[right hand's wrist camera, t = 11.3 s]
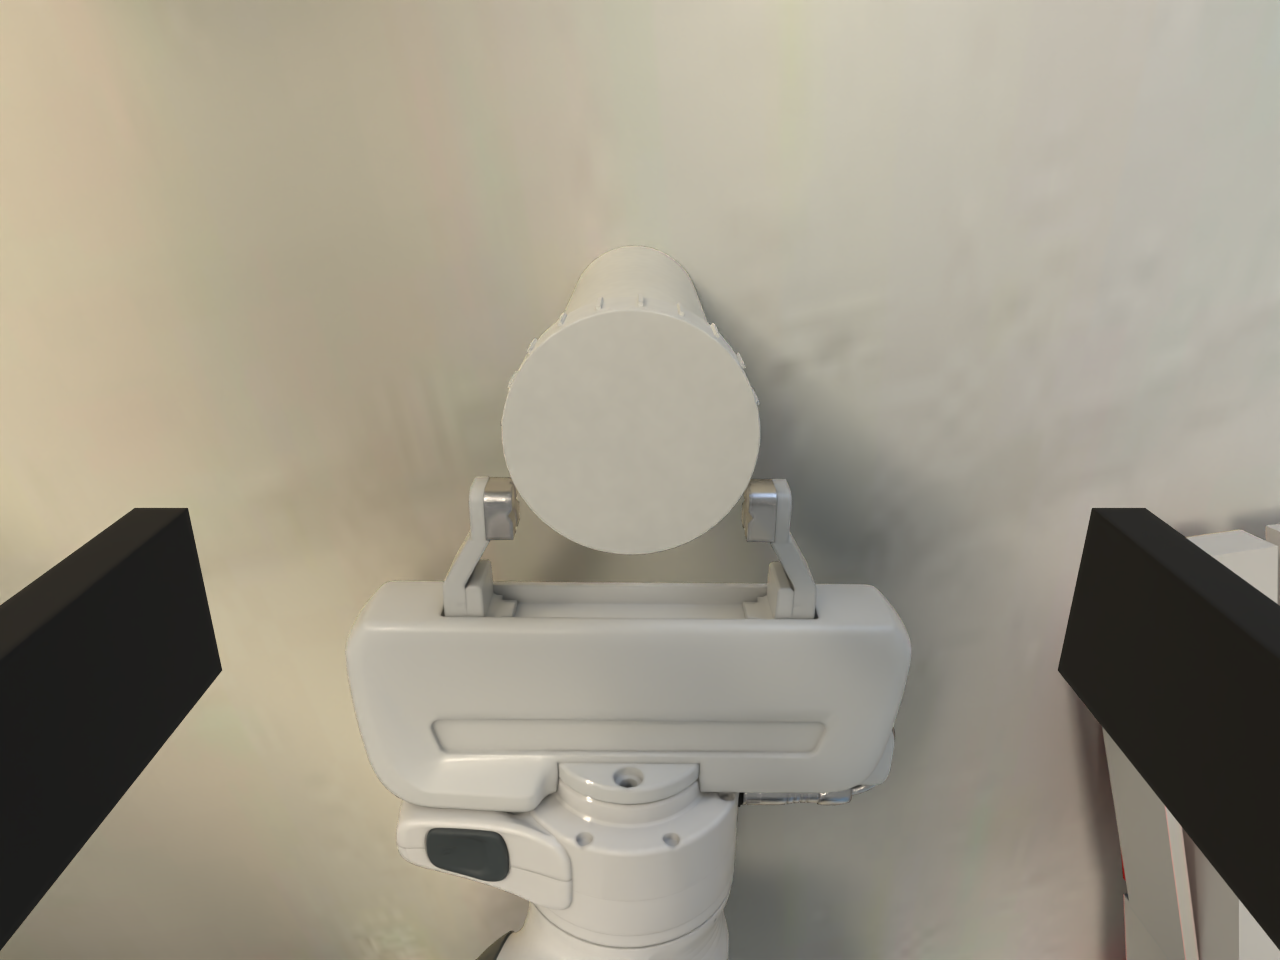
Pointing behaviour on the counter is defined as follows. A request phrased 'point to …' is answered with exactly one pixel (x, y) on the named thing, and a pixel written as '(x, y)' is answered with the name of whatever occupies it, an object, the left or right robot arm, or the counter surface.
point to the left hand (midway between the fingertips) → (630, 483)
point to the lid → (631, 426)
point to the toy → (1161, 849)
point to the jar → (635, 279)
